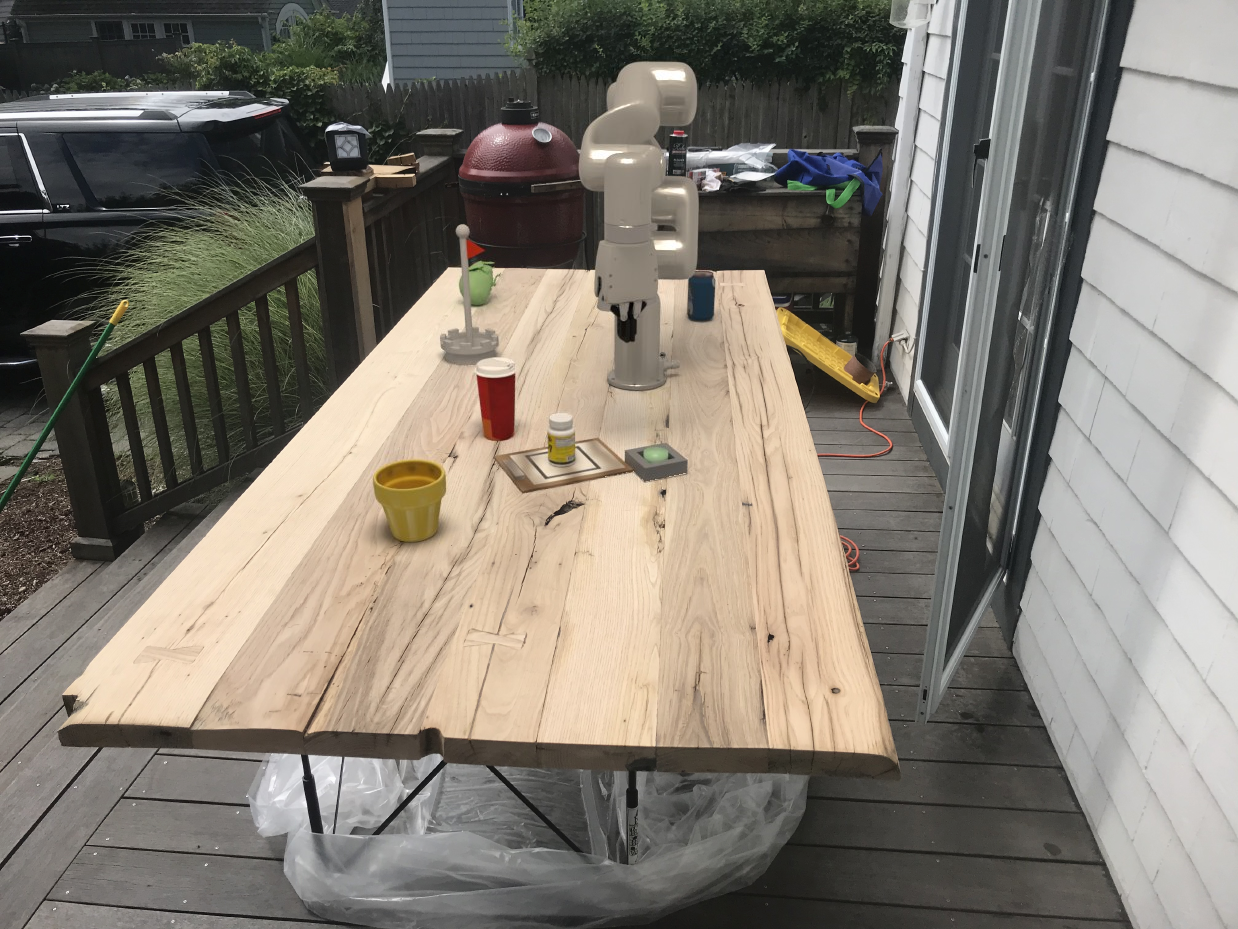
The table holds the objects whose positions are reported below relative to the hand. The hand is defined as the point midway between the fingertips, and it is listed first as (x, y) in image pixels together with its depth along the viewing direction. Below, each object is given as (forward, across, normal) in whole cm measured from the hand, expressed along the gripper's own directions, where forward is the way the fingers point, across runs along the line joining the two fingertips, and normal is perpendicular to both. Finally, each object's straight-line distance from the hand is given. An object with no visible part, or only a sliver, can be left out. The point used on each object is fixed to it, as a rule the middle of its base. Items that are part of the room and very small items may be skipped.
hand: (626, 339), depth 162 cm
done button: (+19, 0, +11) cm, 22 cm away
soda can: (+24, -53, -64) cm, 86 cm away
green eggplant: (+24, -7, -102) cm, 105 cm away
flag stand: (+22, +10, -60) cm, 64 cm away
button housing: (+20, 0, +11) cm, 23 cm away
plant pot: (+19, +43, +15) cm, 49 cm away
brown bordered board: (+20, +14, +2) cm, 24 cm away
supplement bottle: (+20, +14, +2) cm, 24 cm away
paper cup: (+21, +19, -15) cm, 32 cm away
